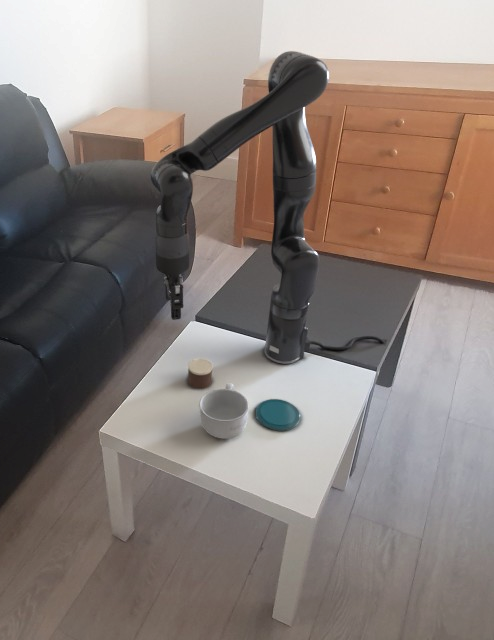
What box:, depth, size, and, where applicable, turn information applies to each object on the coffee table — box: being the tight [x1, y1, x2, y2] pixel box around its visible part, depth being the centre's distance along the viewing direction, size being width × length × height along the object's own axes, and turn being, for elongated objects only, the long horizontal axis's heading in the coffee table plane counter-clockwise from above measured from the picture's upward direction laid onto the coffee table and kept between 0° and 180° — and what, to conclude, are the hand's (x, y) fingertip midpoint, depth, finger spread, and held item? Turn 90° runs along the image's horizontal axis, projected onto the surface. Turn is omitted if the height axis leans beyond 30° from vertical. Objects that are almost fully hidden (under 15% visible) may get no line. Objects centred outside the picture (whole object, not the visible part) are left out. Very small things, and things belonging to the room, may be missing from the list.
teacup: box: [198, 382, 249, 439], centre depth 136 cm, size 14×11×8 cm
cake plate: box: [255, 398, 301, 432], centre depth 140 cm, size 10×10×1 cm
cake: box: [187, 358, 213, 390], centre depth 151 cm, size 6×6×5 cm
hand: (173, 308), depth 142 cm, fingers open, 8 cm apart
